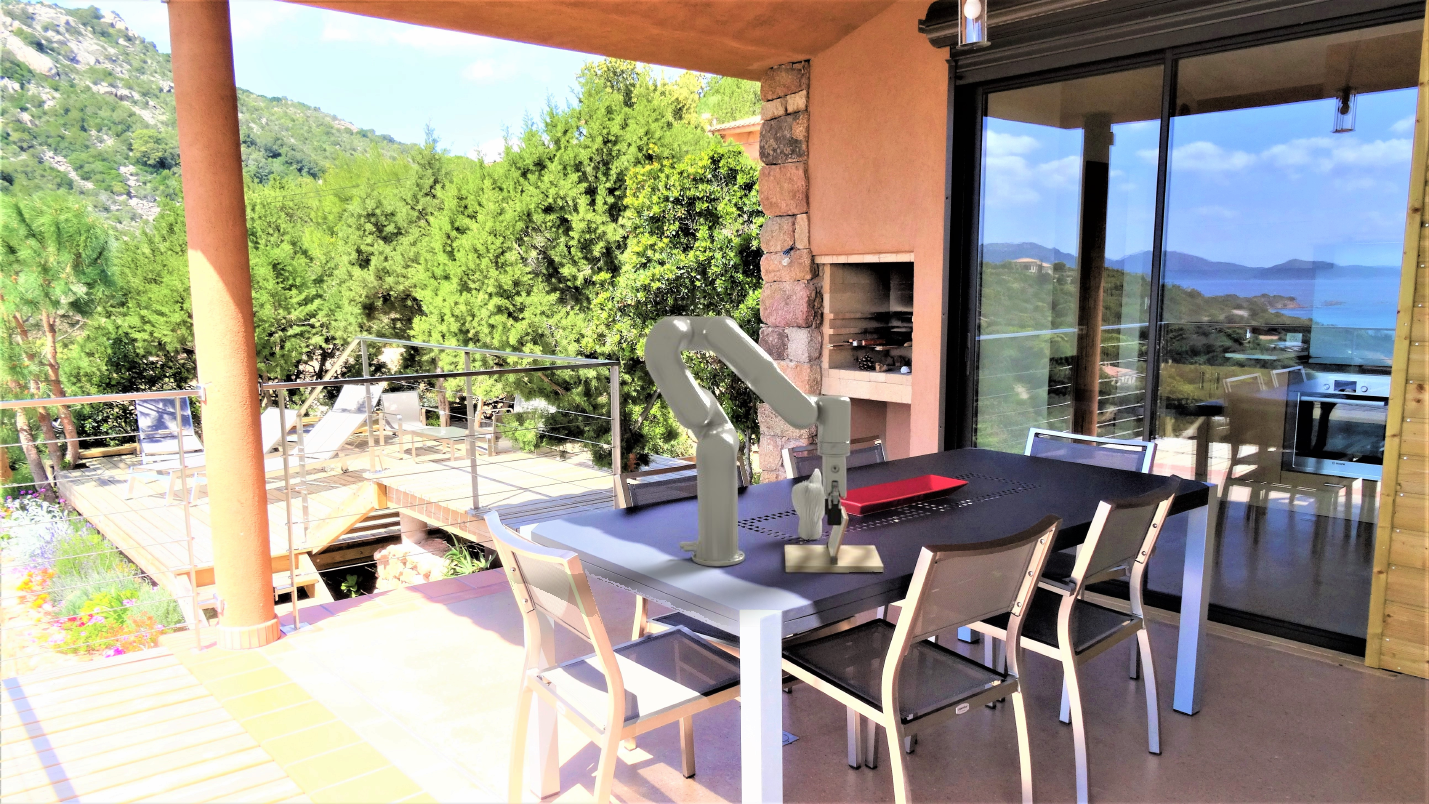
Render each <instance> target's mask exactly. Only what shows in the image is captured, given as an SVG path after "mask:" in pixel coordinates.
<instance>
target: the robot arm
mask: <svg viewBox="0 0 1429 804" xmlns="http://www.w3.org/2000/svg"><path fill="white" fill-rule="evenodd" d="M644 342H645V343H644V346H643V348H644V349H643V354H644V355H643V357H644V362H645V367H646V369H647V372H648V373H649V375H650V377H651V379H652V380H653V381H654V383H655V385H656V387H657V388H658V390H659V392H660V394H661V395H662V397H663V399H664V400H665V402H666V404H667V405H668V407H669V408H670V410H671V412H672V414H673V415H674V417H675V419H676V421H677V422H678V423H679V425H681V426H682V427H684V428H685V429H687V430H690V431H691V432H692V434H693V435H694V437H695V439H696V440H697V444H696V448H695V467H696V476H697V477H696V479H697V480H696V482H697V484H696V485H697V525H698V530H697V531H698V534H697V535H698V536H697V540H692V541H691V542H690V541H689V542H688V541H680V544H679V548H680V551H683V552H686V553H690V552H693V553H692V555H691V557H692V561H693V562H694V563H695V564H698V565H702V566H707V567H708V566H709V567H726V566H727V567H728V566H733V565H737V564H740V563H742V562H743V561H744V560H746V559H745V555H746V554H745V553H744V551H742V550H739V508H738V507H739V503H738V502H739V501H738V500H739V499H738V458H737V457H738V452H739V449H740V443H741V442H740V436H739V434H738V432H737V431H736V429H735V427H734V425H733V424H732V422H731V421H730V419H729V417H728V415H727V414H726V412H725V411H724V409H723V408H722V406H721V405H720V403H719V401H718V400H717V399H716V397H715V396H714V395H713V393H712V392H711V391H710V390H708V389H707V388H704V387H701V386H700V385H699V384H698V382H697V380H696V379H695V378H694V376H693V374H692V372H691V371H690V369H689V367H688V366H687V364H685V362H684V361H683V357H682V355H681V354H682V353H681V352H682V351H691V352H692V351H696V352H698V351H699V352H703V351H705V352H708V351H709V352H712V353H713V354H714V355H715V356H716V357H717V358H718V359H720V360H721V362H723V363H724V364H725V365H726V366H727V368H729V369H730V370H731V371H732V372H734V374H736V375H737V377H738V378H739V379H741V381H743V382H744V383H745V384H746V385H747V386H748V387H749V389H750V390H752V391H753V392H754V393H755V394H756V395H757V396H758V397H759V398H760V399H761V400H762V401H763V402H764V403H765V404H766V405H767V406H768V407H769V408H770V410H772V411H773V412H774V413H775V414H776V415H778V417H780V419H782V421H784V422H785V423H786V424H787V425H788V426H789V427H791V428H793V429H795V430H800V431H803V430H808V429H810V428H811V427H812V426H814V424H817V455H819V456H820V457H822V486H823V488H824V494H825V497H826V498H825V515H824V516H826V517H827V518H826V523H827V526H832V527H833V526H840V525H841V517H842V508H841V506H842V503H841V502H842V501H841V498H843V499H844V500H845V499H846V498H847V461H846V459H847V458H846V457H849V456H850V455H851V416H852V415H851V414H852V413H851V412H852V411H851V410H852V406H851V405H852V403H851V400H850V398H849V397H848V396H846V395H839V394H829V395H816V394H809V393H803V392H802V391H801V390H800V389H799V388H798V387H797V386H796V385H795V384H794V383H793V382H792V381H790V380H789V378H788V377H787V376H786V375H785V374H784V373H783V371H781V370H780V368H779V367H778V364H777V363H776V362H775V361H774V359H773V358H772V357H771V355H769V354H768V352H766V351H765V349H763V348H762V347H761V346H759V344H757V342H755V341H754V340H753V339H752V338H751V337H750V336H749V335H748V334H747V333H746V332H745V331H744V330H742V328H741V327H740V325H739V323H738V322H737V321H736V320H735V319H734V318H732V317H730V316H727V315H716V316H693V315H692V316H691V315H689V316H688V315H687V316H686V315H680V316H679V315H676V316H673V315H672V316H671V315H670V316H666V317H663V318H661V319H659V320H658V321H656V323H654V325H653V327H651V329H650V330H649V332H648V335H647V337H646V339H645V341H644Z"/></svg>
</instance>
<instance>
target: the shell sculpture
mask: <svg viewBox="0 0 1429 804" xmlns="http://www.w3.org/2000/svg"><path fill="white" fill-rule="evenodd" d="M790 495H791V501H792V506H793V508H794V510H795V512H796V514H797V515H798V517H799V521H798V528H797V529H798V530H797V533H798V535H799V537H800V538H801V539H802V540H806V541H809V540H810V541H812V540H818V539H820V538H821V537H822V533H823V532H822V531H823V523H822V522H823V521H822V519H823V518H824V516H826V515H825V498H826V497H825V494H824V488H823V483H822V473H821V471H820V469H819V468H815V469H814V471H813V472H812V474H811V476H810V479H807V480H806V479H805V481H804V480H802V482H799V483H796V484H795V485H794V486H793V487H792V489H791V494H790ZM808 539H809V540H808Z"/></svg>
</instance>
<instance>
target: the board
mask: <svg viewBox="0 0 1429 804" xmlns="http://www.w3.org/2000/svg"><path fill="white" fill-rule="evenodd" d="M828 542H829V539H826V544H825V545H823V544H822V545H821V544H817V545H816V544H785V545H784V560H785V561H784V563H785V572H786V573H849V572H868V571H869V572H870V571H871V572H872V571H874V572H883V573H884V564H883V563H882V560H881V557H880V554H879V552H878V551H877V548H876V546H875V545H865V544H864V545H861V544H860V545H854V544H851V545H850V544H849V545H848V544H846V545H845V544H844V545H842V544H841V546H840V549H839V553H838V556H830V552H829V548H828Z"/></svg>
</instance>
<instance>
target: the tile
mask: <svg viewBox="0 0 1429 804" xmlns="http://www.w3.org/2000/svg"><path fill="white" fill-rule="evenodd" d="M841 508H842V517H841V525H840V526H832V529H831V533H830V536H829V539H828V540H829V542H828V548H829V552H830V556H838V553H839V549H840V546H841V545H842V543H843V540H844V535H845V532H846V530H847V527H848V523H849V516H848V514H847V510H846V508H845V506H842V505H841Z"/></svg>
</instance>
